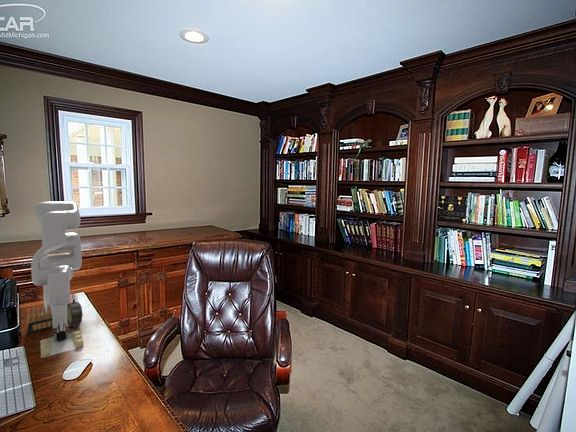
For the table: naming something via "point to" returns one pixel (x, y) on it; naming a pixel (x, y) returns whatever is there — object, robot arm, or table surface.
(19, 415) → the table surface
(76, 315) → the alarm clock
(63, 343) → the spacer board
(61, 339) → the robot arm
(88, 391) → the table surface
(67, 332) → the grey faceted block
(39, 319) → the ammunition clip
